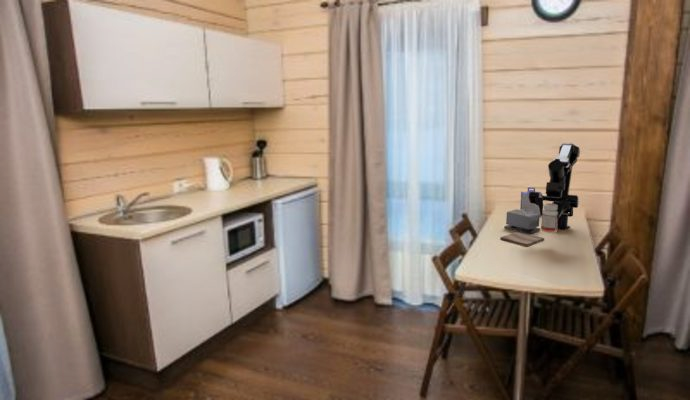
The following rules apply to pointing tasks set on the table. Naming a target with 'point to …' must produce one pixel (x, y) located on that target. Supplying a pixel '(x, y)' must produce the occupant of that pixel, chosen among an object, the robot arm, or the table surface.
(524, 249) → the table surface
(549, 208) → the pill bottle
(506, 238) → the plate
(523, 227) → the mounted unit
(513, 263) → the table surface
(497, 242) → the table surface
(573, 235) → the table surface
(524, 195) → the ink cartridge box
